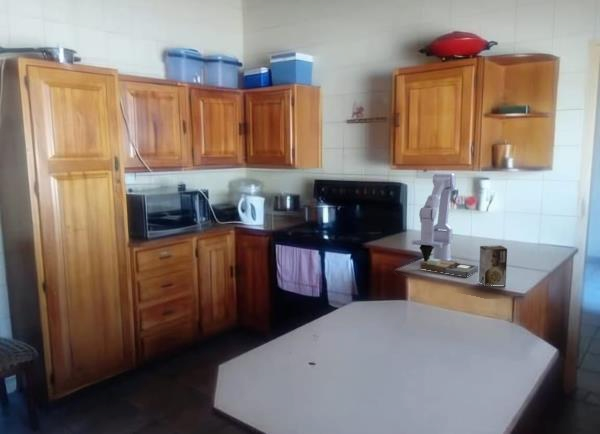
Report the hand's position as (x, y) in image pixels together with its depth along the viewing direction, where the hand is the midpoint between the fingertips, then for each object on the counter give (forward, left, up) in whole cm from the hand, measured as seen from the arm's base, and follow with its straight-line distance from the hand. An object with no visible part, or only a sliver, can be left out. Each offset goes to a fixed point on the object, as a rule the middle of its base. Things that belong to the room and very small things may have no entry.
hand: (426, 260), depth 225 cm
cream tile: (-5, +16, -1) cm, 17 cm away
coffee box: (+7, +33, -4) cm, 34 cm away
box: (-4, +16, -4) cm, 17 cm away
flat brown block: (-4, +5, -4) cm, 7 cm away
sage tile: (0, +4, -1) cm, 4 cm away
